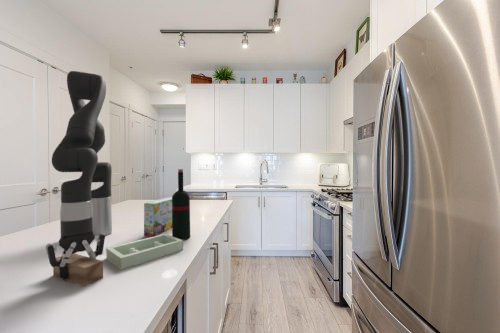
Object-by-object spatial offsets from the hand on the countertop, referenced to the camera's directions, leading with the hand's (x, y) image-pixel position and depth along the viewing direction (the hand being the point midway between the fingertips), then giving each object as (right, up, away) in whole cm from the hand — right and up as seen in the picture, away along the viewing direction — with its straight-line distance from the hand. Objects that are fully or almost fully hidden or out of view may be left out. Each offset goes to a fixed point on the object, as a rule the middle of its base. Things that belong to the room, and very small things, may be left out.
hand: (77, 274), depth 69 cm
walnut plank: (0, -1, 0) cm, 1 cm away
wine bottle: (+19, 0, +37) cm, 41 cm away
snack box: (+7, 0, +47) cm, 48 cm away
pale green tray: (+12, 0, +17) cm, 21 cm away
